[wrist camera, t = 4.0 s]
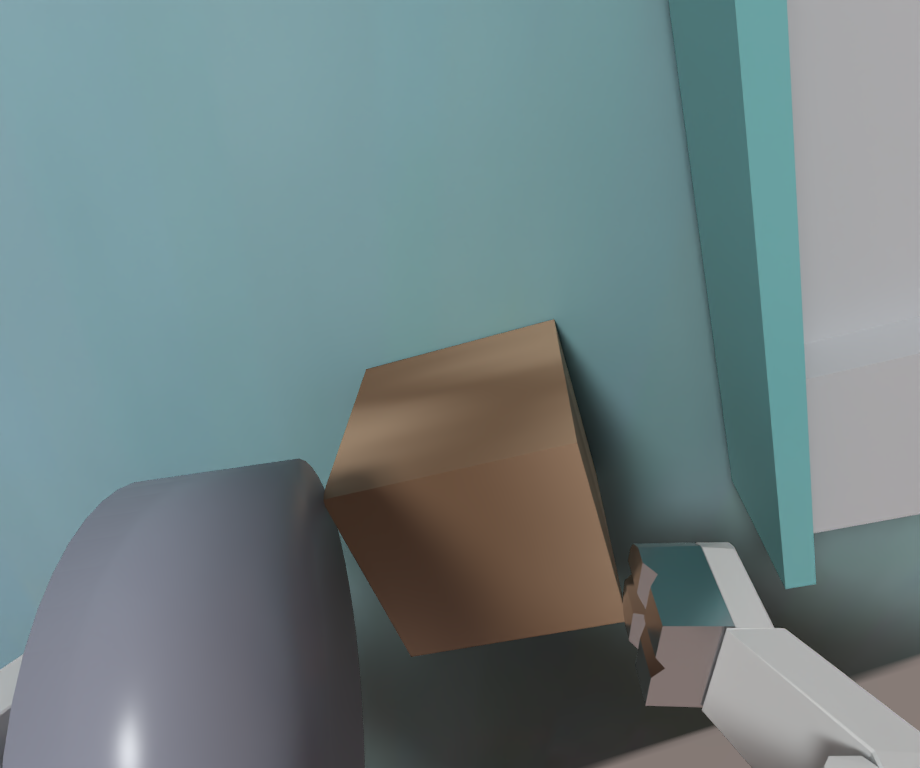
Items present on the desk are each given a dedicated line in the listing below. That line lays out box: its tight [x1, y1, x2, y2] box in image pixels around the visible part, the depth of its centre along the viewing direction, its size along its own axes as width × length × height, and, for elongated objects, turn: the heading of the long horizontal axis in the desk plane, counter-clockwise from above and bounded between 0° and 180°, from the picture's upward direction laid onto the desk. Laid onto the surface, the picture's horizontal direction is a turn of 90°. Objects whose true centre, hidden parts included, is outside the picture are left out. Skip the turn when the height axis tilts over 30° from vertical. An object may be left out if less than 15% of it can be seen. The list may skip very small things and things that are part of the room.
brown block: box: [323, 319, 625, 657], centre depth 12 cm, size 4×4×4 cm
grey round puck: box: [2, 459, 365, 768], centre depth 8 cm, size 6×6×2 cm
